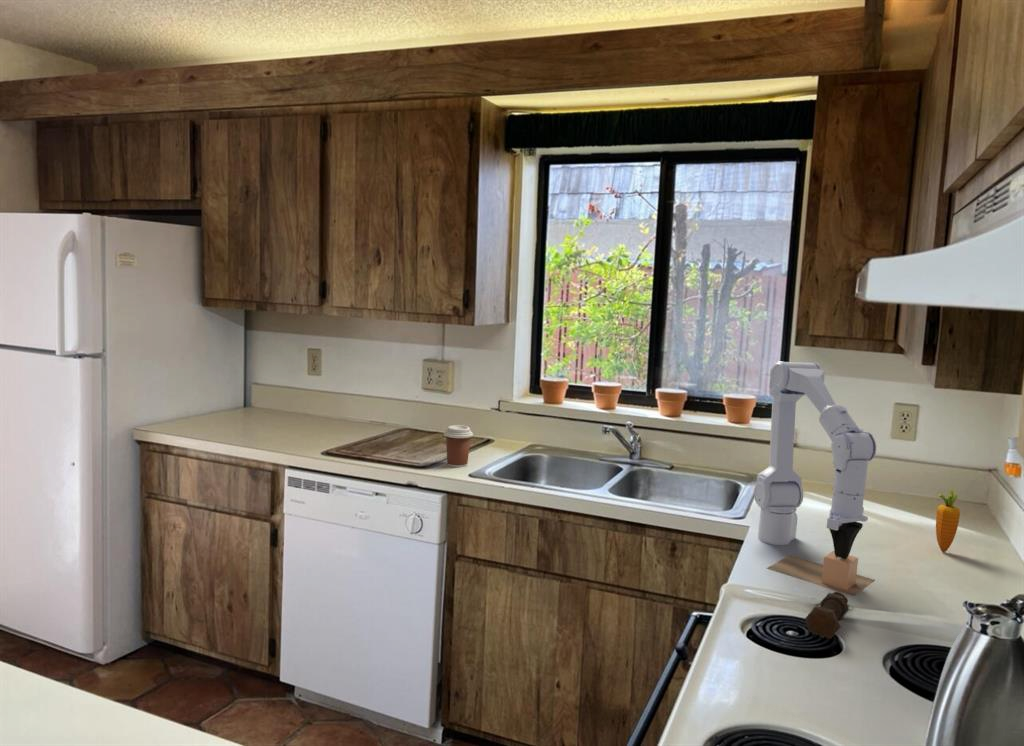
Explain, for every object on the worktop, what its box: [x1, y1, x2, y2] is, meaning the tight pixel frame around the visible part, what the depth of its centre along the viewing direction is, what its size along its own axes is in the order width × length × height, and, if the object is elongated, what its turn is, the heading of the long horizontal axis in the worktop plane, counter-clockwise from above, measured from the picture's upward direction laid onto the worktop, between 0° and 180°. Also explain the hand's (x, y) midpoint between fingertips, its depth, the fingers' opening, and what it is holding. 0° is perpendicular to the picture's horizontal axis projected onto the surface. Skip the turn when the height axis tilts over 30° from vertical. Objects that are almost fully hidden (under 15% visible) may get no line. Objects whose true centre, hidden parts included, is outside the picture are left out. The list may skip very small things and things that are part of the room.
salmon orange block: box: [821, 550, 859, 590], centre depth 155 cm, size 5×5×6 cm
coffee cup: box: [443, 424, 474, 468], centre depth 239 cm, size 9×9×12 cm
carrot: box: [935, 489, 961, 553], centre depth 181 cm, size 5×5×15 cm
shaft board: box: [766, 554, 875, 597], centre depth 160 cm, size 12×18×5 cm, turn 47°
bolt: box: [804, 591, 850, 640], centre depth 140 cm, size 6×5×15 cm
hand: (841, 556), depth 154 cm, fingers closed, pressing on salmon orange block
